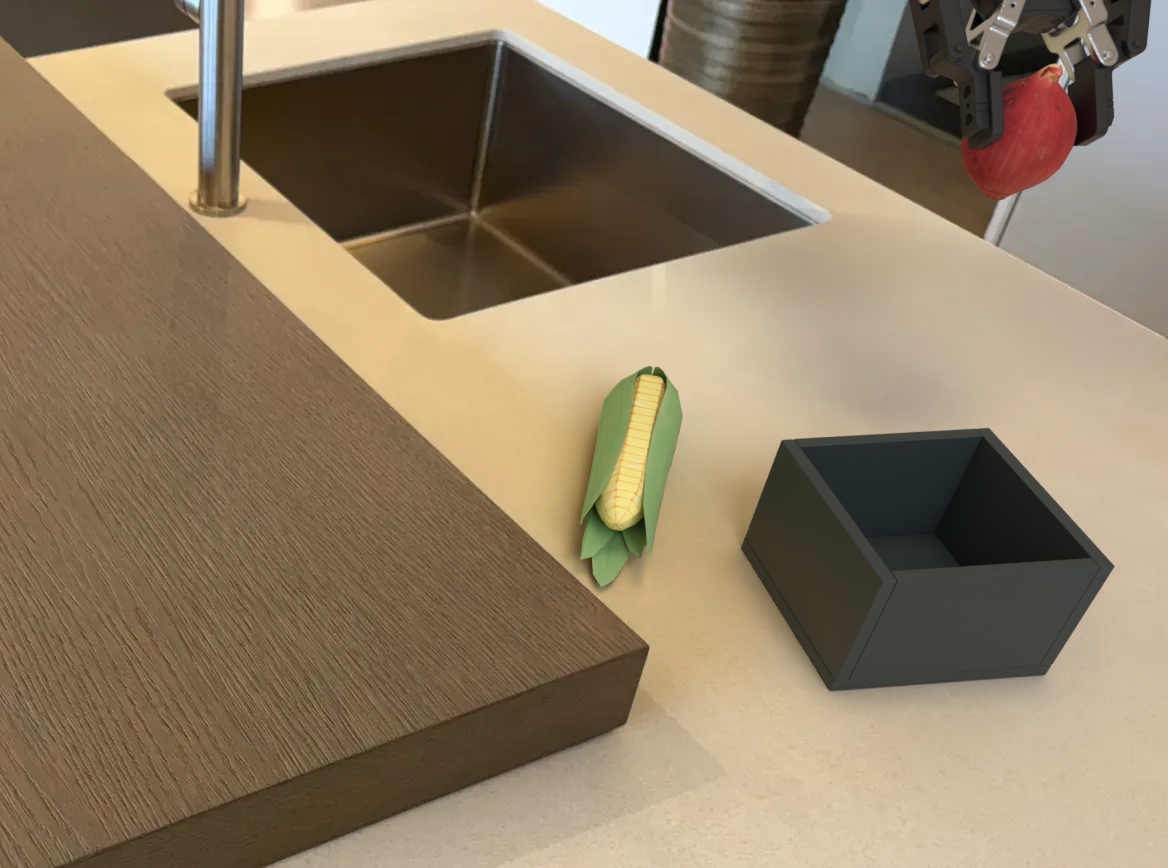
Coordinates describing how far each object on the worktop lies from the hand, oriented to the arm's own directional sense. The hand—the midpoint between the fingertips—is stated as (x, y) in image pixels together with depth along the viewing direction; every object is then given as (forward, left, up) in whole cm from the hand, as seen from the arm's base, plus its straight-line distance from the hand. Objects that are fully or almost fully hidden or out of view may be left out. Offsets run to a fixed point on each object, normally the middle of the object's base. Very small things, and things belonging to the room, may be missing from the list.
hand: (1038, 141), depth 79 cm
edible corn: (+23, +6, -19) cm, 30 cm away
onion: (0, -2, -4) cm, 5 cm away
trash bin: (+11, +18, -19) cm, 29 cm away
